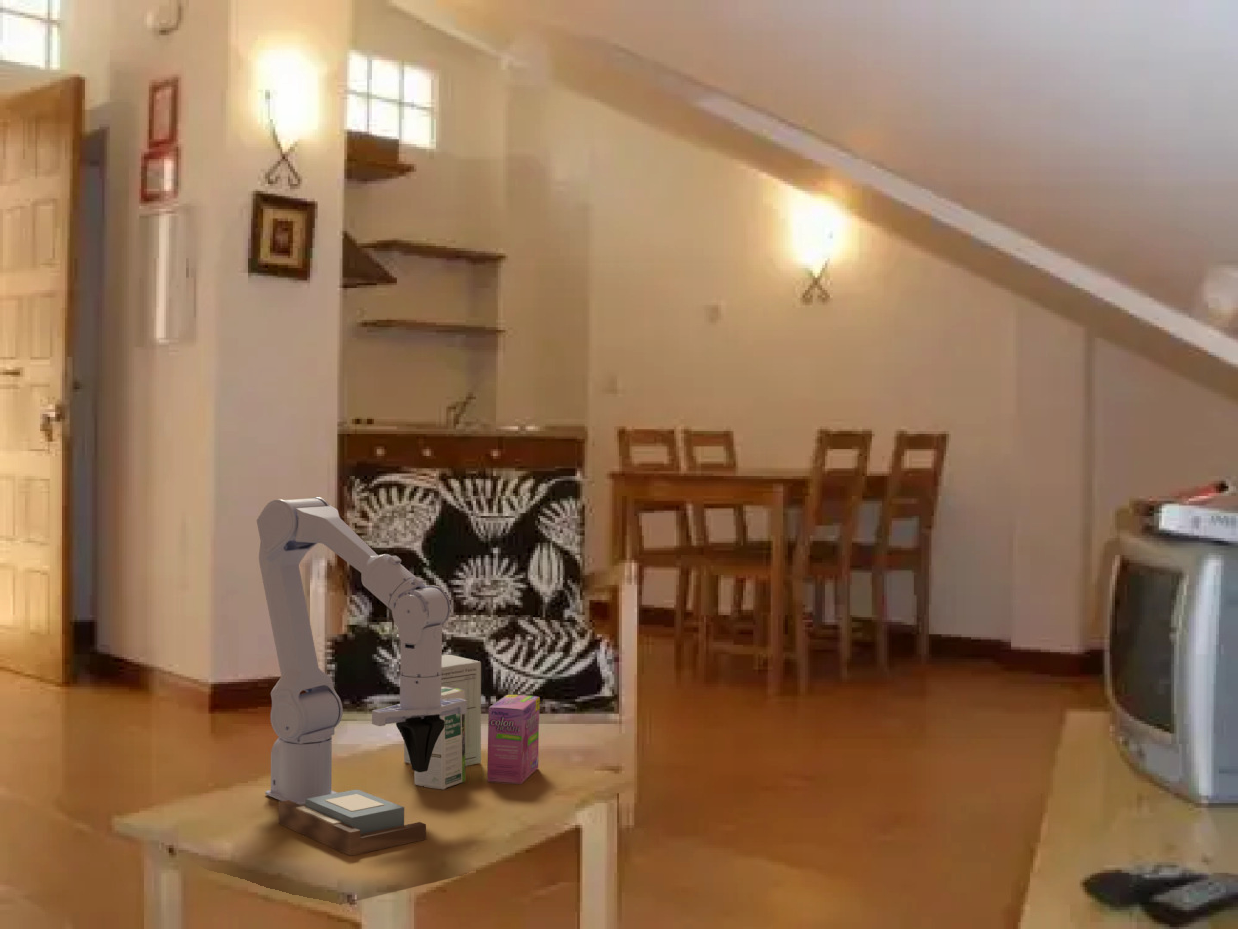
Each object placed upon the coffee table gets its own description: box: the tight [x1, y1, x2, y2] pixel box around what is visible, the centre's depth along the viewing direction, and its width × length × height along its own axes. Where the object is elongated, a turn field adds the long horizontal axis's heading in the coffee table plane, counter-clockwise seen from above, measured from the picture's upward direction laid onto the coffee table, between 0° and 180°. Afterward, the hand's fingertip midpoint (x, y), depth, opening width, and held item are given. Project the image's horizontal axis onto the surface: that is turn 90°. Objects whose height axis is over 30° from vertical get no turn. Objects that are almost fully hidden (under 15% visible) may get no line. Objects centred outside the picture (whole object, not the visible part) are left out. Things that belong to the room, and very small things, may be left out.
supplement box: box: [403, 654, 482, 767], centre depth 232 cm, size 10×9×17 cm
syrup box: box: [413, 687, 466, 790], centre depth 219 cm, size 6×6×14 cm
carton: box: [306, 788, 405, 834], centre depth 192 cm, size 12×8×5 cm, turn 42°
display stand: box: [278, 800, 427, 857], centre depth 193 cm, size 19×12×3 cm, turn 41°
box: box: [486, 694, 541, 785], centre depth 225 cm, size 10×6×12 cm, turn 168°
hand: (419, 770), depth 200 cm, fingers closed
